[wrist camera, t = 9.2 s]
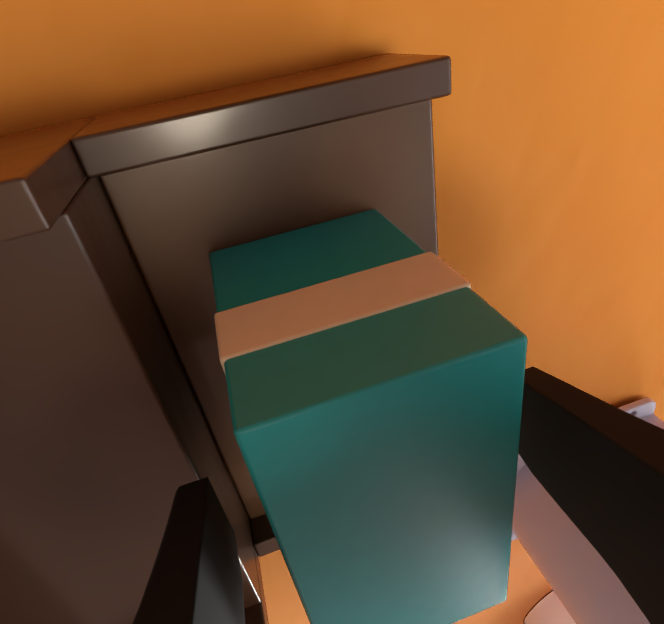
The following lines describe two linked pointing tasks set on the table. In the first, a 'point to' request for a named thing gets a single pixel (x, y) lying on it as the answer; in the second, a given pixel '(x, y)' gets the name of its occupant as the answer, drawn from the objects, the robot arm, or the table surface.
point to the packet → (373, 419)
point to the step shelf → (166, 308)
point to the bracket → (549, 612)
